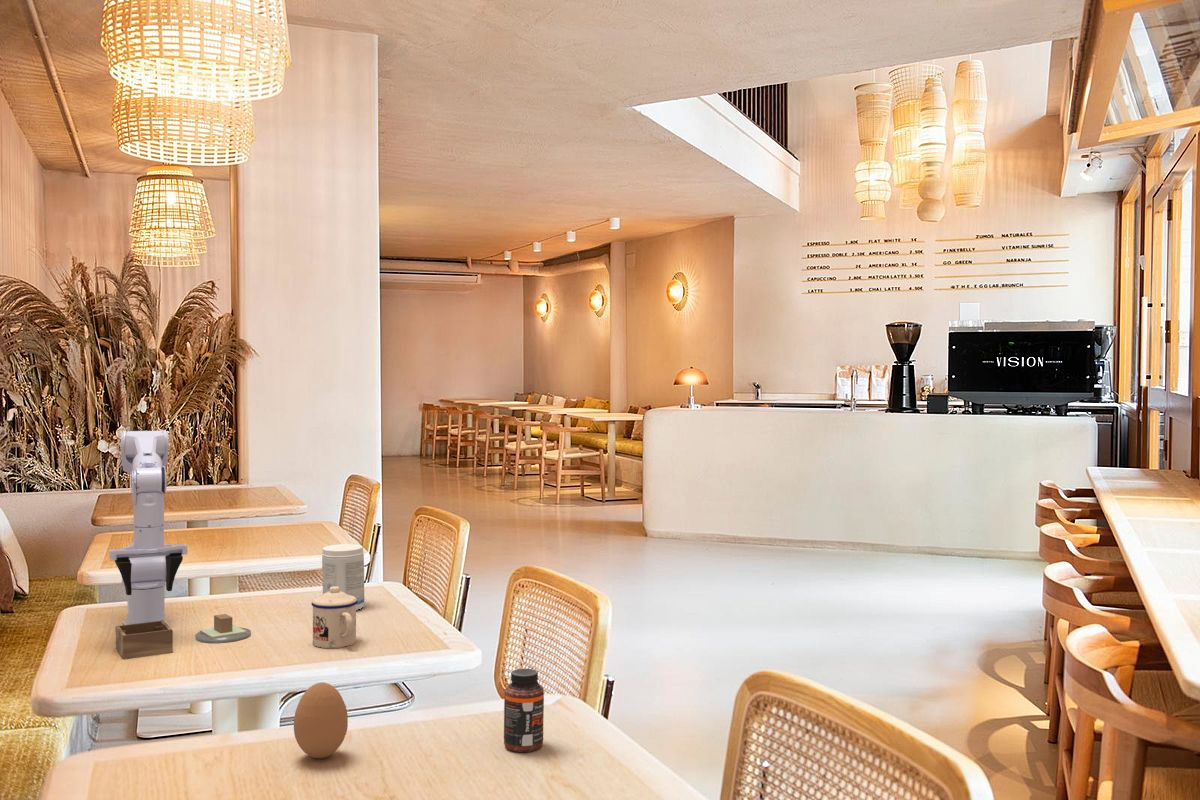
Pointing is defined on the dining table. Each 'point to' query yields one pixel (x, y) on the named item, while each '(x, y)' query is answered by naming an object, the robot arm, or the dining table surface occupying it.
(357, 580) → the supplement tub
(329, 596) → the teacup with lid
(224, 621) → the lid
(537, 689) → the supplement bottle
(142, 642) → the brown wooden open box
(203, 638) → the coaster
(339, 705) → the egg
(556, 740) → the dining table surface
